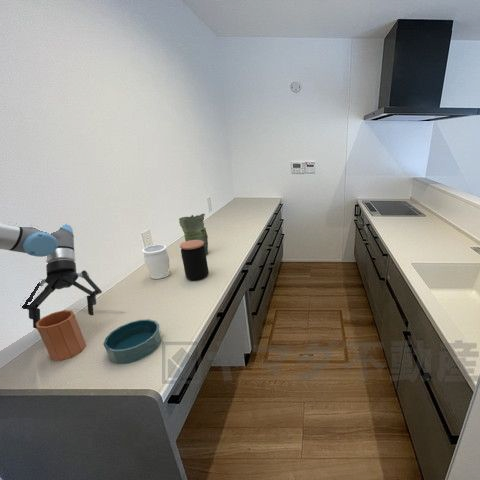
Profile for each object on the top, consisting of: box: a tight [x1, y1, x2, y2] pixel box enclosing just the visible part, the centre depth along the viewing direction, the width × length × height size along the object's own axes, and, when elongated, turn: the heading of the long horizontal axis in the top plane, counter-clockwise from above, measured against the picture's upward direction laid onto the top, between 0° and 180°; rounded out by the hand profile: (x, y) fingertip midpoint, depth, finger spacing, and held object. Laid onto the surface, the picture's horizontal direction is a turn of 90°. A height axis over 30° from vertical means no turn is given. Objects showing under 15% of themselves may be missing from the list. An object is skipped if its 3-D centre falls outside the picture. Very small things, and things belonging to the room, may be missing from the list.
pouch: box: [178, 213, 209, 255], centre depth 154 cm, size 11×12×25 cm
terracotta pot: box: [36, 309, 87, 362], centre depth 83 cm, size 8×9×13 cm
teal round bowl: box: [102, 318, 163, 365], centre depth 87 cm, size 15×15×6 cm
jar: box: [141, 244, 171, 280], centre depth 131 cm, size 11×10×15 cm
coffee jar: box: [179, 240, 209, 282], centre depth 131 cm, size 11×11×18 cm
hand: (65, 321), depth 87 cm, fingers open, 13 cm apart
